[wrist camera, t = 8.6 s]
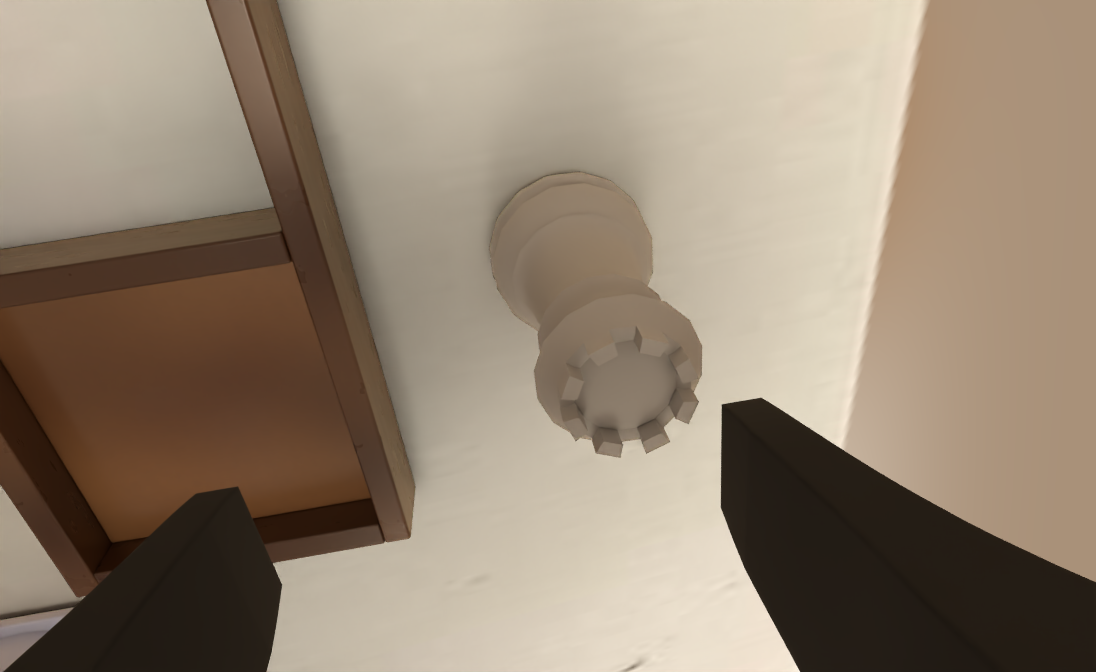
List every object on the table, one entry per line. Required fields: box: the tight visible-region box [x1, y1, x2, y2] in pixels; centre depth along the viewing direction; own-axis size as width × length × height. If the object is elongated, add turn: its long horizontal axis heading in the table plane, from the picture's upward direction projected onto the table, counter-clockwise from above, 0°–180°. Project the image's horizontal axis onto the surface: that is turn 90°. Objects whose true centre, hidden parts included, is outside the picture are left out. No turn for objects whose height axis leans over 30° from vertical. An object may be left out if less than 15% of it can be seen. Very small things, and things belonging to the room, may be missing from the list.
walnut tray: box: [0, 0, 415, 597], centre depth 16 cm, size 19×10×2 cm, turn 7°
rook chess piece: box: [489, 172, 702, 458], centre depth 15 cm, size 4×4×8 cm
